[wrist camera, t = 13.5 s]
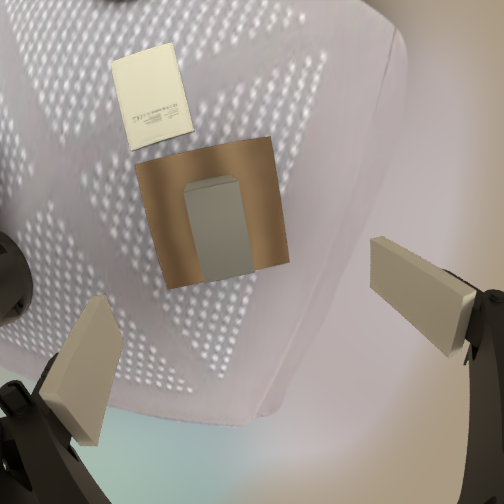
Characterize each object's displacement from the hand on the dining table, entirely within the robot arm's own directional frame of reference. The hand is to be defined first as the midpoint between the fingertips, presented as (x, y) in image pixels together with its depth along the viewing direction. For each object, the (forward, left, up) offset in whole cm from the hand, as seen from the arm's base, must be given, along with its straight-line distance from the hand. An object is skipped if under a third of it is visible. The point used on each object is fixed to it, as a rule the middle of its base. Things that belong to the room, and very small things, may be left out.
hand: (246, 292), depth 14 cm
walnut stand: (0, -1, -26) cm, 26 cm away
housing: (0, -1, -22) cm, 23 cm away
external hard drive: (-5, +15, -26) cm, 31 cm away
